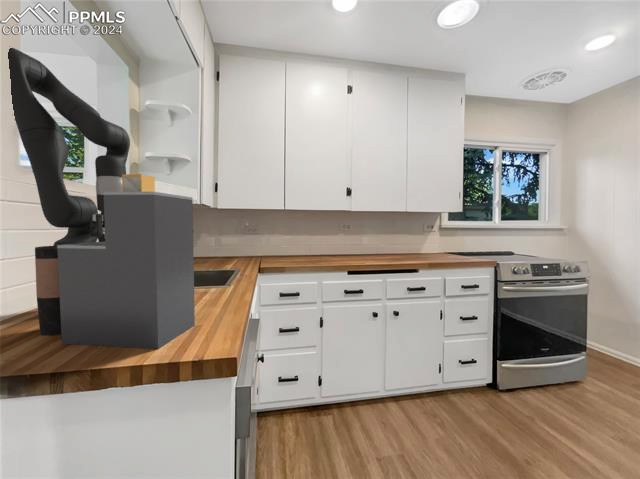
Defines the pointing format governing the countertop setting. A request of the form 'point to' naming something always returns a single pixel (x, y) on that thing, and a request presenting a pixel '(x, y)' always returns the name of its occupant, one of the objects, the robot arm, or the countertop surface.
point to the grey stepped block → (131, 274)
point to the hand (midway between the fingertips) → (117, 251)
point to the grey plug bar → (154, 186)
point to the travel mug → (48, 290)
